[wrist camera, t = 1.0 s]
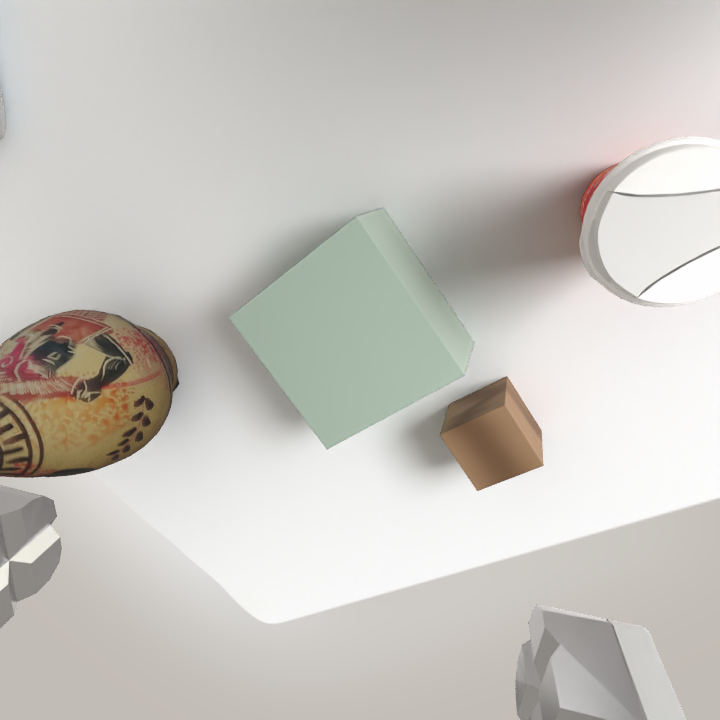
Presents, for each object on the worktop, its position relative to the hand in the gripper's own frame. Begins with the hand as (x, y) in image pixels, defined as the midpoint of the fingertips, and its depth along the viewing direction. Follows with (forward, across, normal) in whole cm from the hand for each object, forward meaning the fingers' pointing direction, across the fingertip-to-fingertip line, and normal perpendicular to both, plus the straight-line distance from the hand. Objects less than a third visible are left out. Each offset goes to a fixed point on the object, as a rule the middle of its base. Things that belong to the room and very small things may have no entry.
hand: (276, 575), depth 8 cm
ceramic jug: (+41, +30, +16) cm, 54 cm away
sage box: (+38, +4, +7) cm, 39 cm away
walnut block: (+37, -8, +14) cm, 40 cm away
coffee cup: (+36, -14, -6) cm, 39 cm away
